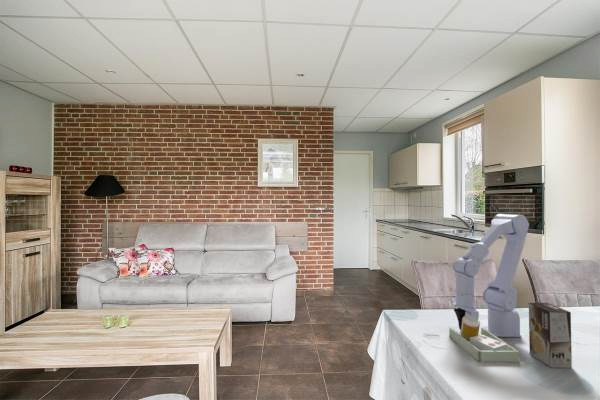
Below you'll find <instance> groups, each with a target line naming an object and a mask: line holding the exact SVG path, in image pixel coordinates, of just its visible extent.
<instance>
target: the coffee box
mask: <svg viewBox="0 0 600 400" xmlns="http://www.w3.org/2000/svg"><path fill="white" fill-rule="evenodd" d="M571 314H572V313H571V311H570V310H566V309H563V308H561V307H559V306H557V305H553V304H552V303H548V302H528V327H529V328H528V334H529V335H528V336H529V337H528V339H529V354H530V355H532V356H534V358H536V359H537V360H539V361H541V362H542V363H544V364H545V365H546V366H549V367H550V368H552V369H553V368H556V369H557V368H559V369H560V368H561V369H572V368H573V364H572V361H573V360H572V359H573V358H572V357H573V356H572V355H573V354H572V319H571V318H572V316H571Z"/></svg>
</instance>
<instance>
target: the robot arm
mask: <svg viewBox="0 0 600 400" xmlns="http://www.w3.org/2000/svg"><path fill="white" fill-rule="evenodd" d="M490 222H491V223H490V224H491V225H490V226H489V228H488V229H487V231H486V232H485V233H484V235H483V236H482V238H481V239H480V240H479V242H474V243H471V245H470V247H469V248H468V249H467V251H466V252H465V253H464V254H463V255H462V256H461V257H459V258H457V259H455V260H454V263H453V264H452V269H453V271H454V274H455V275H454V276H455V279H456V280H455V298H454V297H452V298H451V302H450V303H451V305H452V306H453V307H454V308H453V311H454V313H455V315H456V318H457V322H458V328H459V330H460V331H461V325H462V318H463V316H465V313H466V311H469V312H470V313H471V316H472V317H480V315H479V314H480V313H479V311H478V310H477V308H476V307H475V305H474V298H475V276H476V275H478V274H479V271H480V266H481V263H482V262H483V261H484V259H485V258H487V256H489V254H490V251H489V248H490V247H491V246H492V245H493V244H494V243H495V242H496V241H497V240H498V239H499V238H500V237H503V238H505V240H506V242H505V246H504V249H503V252H502V255H501V259H500V262H499V266H498V269H497V272H496V275H495V278H494V280H491V281H490V282H488V283H487V286H486V287H485V289H484V290H483V292H482V300H483V301H484V303H485V306H486V307H487V326H483V327H482V328H484V329H485V330H487V331H488V332H490V333H491V334H493V335H494V336H496V337H498V338H499V337H500V338H503V337H504V338H521V337H522V335H521V317H520V314H519V312H518V311H517V310H516V308H517V304H518V300H517V299H518V298H517V296H518V294H519V293H518V291H517V290H516V289H515V288H514V287H513V283H514V281H515V276H516V274H517V270H518V266H519V263H520V259H521V256H522V253H523V249H524V248H525V247H524V246H525V243H526V238H527V234H528V231H529V227H530V223H529V221H528V219H527V217H526V216H525V215H523V214H506V213H505V214H504V213H503V214H502V213H498V214H496V215H495V216H494V217H493V219H491V221H490Z"/></svg>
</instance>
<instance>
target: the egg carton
mask: <svg viewBox="0 0 600 400" xmlns="http://www.w3.org/2000/svg"><path fill="white" fill-rule="evenodd" d="M470 343H471V344H472V345H474V346H475V347H476V348H477V349H479V350H480V351H507V344H508V343H507V344H504V343H502V342H500V341H497V340H494V339H492V338H489V337H487V336H485V335H481V334H478V336H474V337H471V338H470Z"/></svg>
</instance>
